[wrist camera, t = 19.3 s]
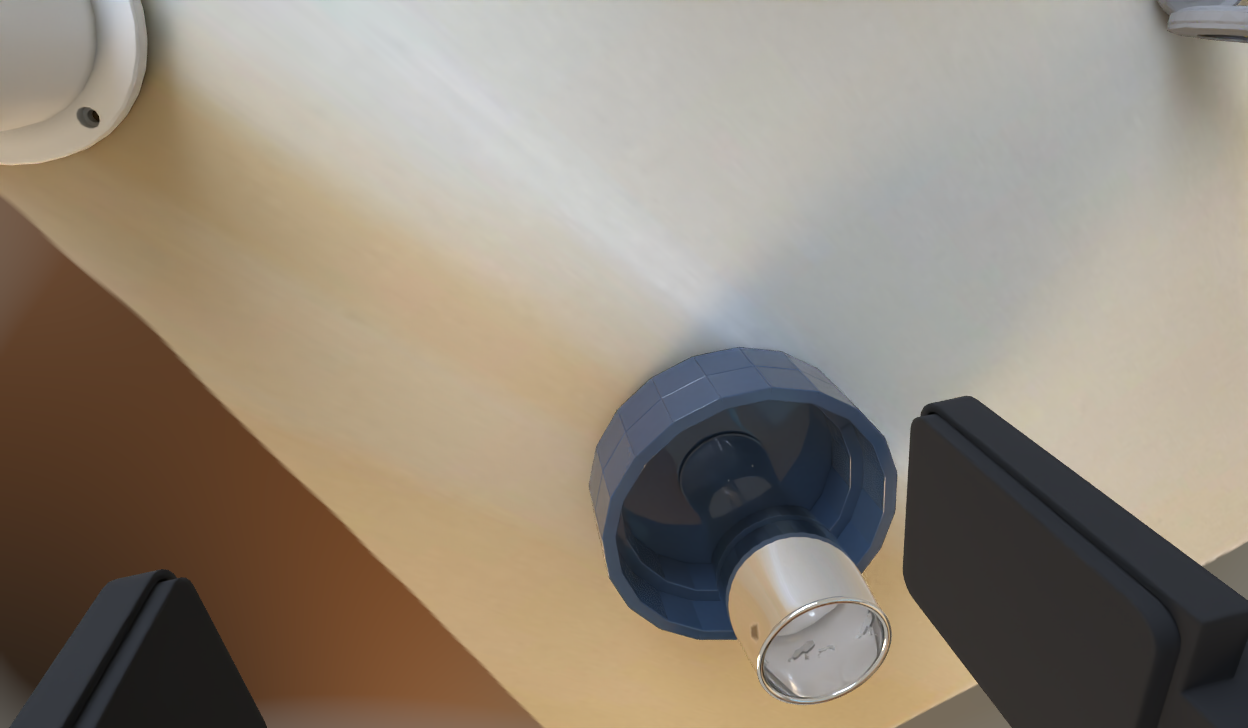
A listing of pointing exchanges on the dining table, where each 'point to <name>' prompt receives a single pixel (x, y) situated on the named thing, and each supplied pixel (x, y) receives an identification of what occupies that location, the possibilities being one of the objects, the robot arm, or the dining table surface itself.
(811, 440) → the bowl
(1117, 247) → the dining table surface
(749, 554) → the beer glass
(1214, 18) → the pocket watch
